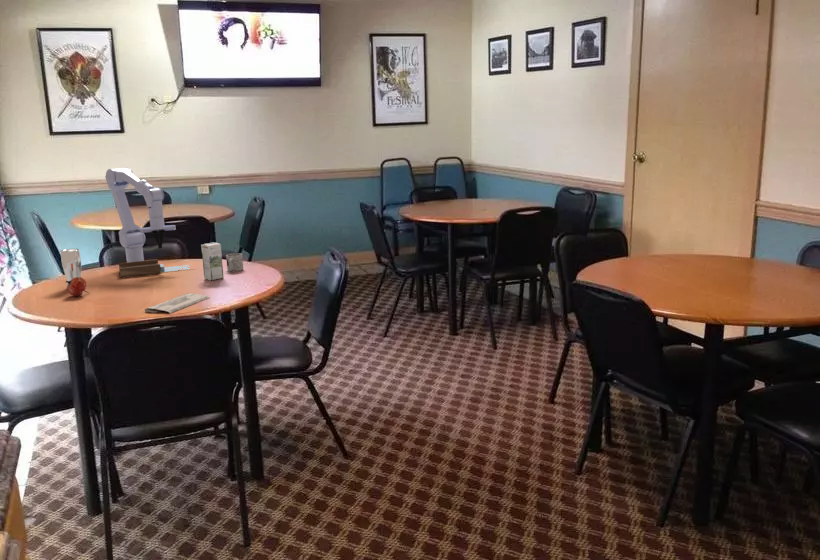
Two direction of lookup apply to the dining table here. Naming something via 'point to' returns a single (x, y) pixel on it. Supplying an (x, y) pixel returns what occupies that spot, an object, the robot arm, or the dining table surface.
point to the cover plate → (173, 268)
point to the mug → (234, 262)
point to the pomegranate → (76, 286)
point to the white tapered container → (71, 263)
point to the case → (139, 268)
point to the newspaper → (177, 303)
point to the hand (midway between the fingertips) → (160, 247)
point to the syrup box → (212, 261)
